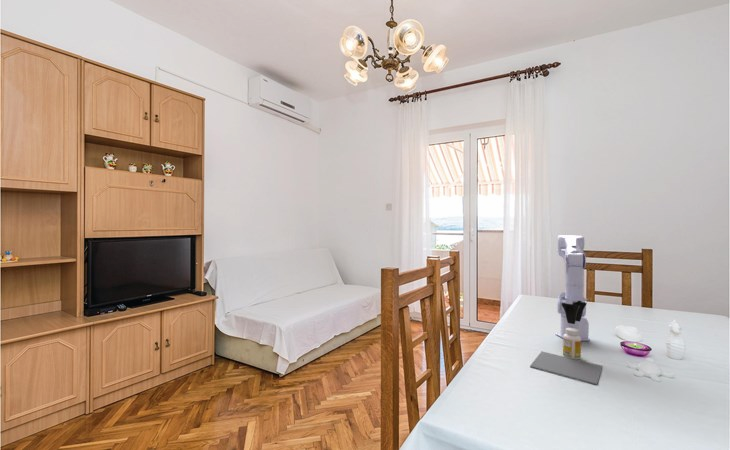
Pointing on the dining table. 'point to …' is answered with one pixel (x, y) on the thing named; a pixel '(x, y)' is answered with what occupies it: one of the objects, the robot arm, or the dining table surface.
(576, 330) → the supplement bottle
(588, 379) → the slate mat
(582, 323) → the robot arm
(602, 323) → the dining table surface
